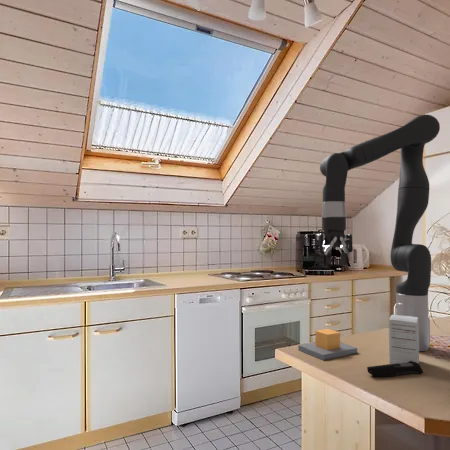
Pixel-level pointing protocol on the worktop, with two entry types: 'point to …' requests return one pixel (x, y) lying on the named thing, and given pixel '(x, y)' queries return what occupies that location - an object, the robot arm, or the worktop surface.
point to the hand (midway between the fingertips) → (334, 266)
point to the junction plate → (327, 354)
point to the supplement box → (403, 339)
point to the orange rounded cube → (327, 339)
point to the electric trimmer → (395, 369)
